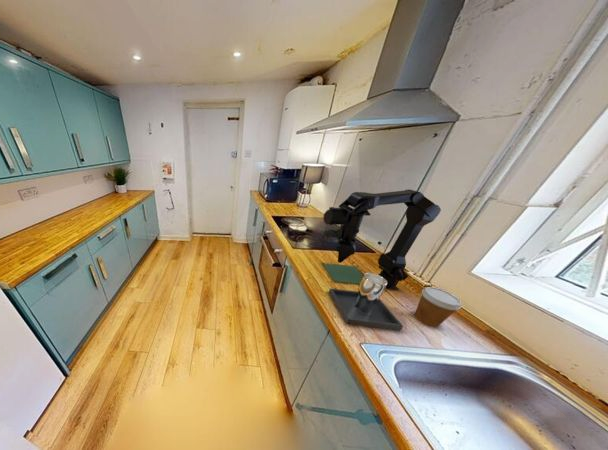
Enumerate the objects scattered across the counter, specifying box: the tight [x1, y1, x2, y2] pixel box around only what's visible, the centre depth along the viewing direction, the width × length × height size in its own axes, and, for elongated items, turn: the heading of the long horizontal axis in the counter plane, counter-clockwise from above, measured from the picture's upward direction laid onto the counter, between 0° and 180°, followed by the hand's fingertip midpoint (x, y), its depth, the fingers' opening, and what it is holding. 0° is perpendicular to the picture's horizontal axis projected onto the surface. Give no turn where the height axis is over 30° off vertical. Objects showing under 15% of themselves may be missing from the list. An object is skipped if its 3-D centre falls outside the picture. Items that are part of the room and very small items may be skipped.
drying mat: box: [322, 263, 364, 285], centre depth 97 cm, size 16×14×1 cm
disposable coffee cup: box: [413, 286, 463, 328], centre depth 71 cm, size 10×10×12 cm
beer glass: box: [352, 272, 387, 315], centre depth 73 cm, size 7×7×15 cm
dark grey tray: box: [327, 288, 404, 332], centre depth 76 cm, size 18×16×2 cm
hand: (339, 257), depth 85 cm, fingers open, 9 cm apart
